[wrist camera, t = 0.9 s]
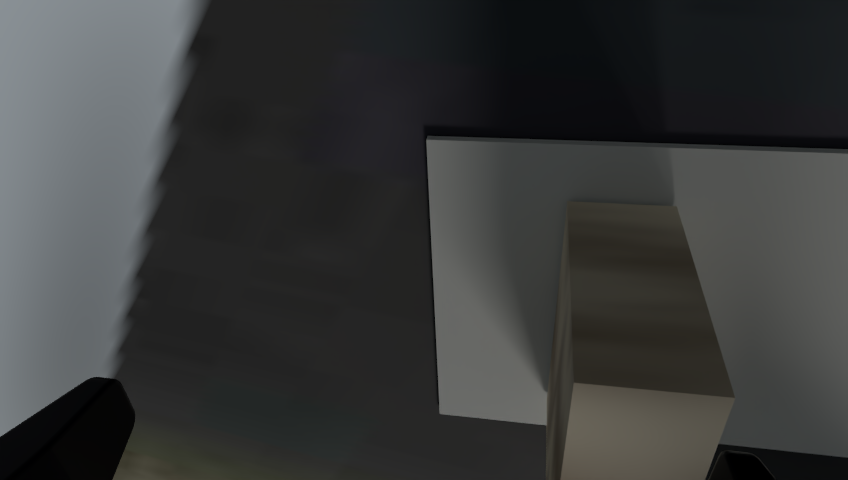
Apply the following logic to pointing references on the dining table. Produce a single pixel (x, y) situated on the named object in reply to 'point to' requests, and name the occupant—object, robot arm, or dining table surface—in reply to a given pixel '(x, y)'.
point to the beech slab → (632, 351)
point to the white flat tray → (711, 251)
